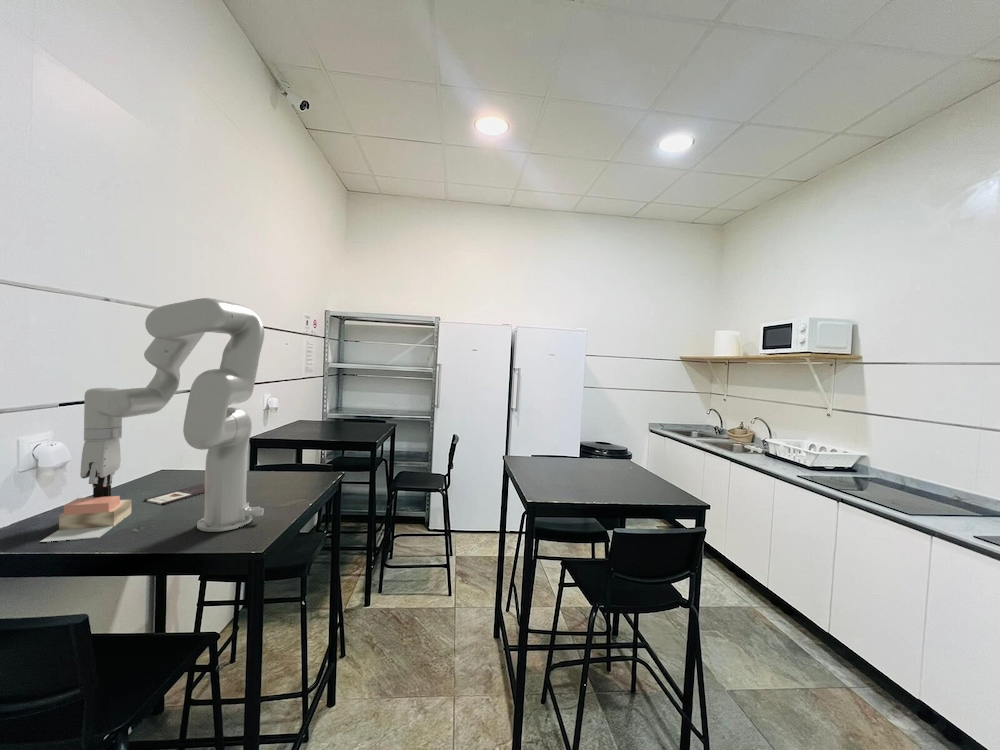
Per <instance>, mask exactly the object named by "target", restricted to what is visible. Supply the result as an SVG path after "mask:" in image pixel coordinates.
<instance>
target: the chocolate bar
mask: <svg viewBox="0 0 1000 750" xmlns="http://www.w3.org/2000/svg"><path fill="white" fill-rule="evenodd" d="M204 493H205V484H198V485H191V486H188V487H185V488H181V489H179V490H174V491H170V492H166V493H163V494H159V495H155V496H151V497H148V498H144V499H143V501H144V502H147V503H152V504H156V503H157V505H161V504H163V506H166V504H167V505H170V503H171V504H174V503H177V502H176V501H178V502H180V500H181V501H184V500H183V499H185V500H187V498H188V499H191V498H194V497H193V496H195V497H197V495H198V496H201V495H200V494H202V495H205V494H204ZM190 497H191V498H190ZM173 502H174V503H173Z"/></svg>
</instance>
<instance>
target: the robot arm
mask: <svg viewBox="0 0 1000 750" xmlns="http://www.w3.org/2000/svg"><path fill="white" fill-rule="evenodd" d="M144 324H145V325H144V326H145V329H146V331H147V333H148V334H149V335H150V336H152V337H153V338H154V339H153V340H152V341H151V342H150V344H149V346H147V348H146V349H145V350H144V352H143V353H144V354H143V356H144V359H145V360H146V362H148V363H149V364H150V365H151V366H153V367H154V368H156V370H155V371H156V372H155V374H154V375H153V377H152V379H151V380H150V382H149V383H148V384H147V385H146V387H136V388H135V387H134V388H125V389H123V388H122V389H119V388H115V387H95V388H88V389H86V391H85V393H84V403H83V404H84V410H83V412H84V413H83V415H84V416H83V441H84V443H83V447H82V452H81V460H80V478H81V479H88V484H89V485H91V486H92V497H109V496H112V484H113V477H114V475H115V473H116V472H117V471H119V469H120V466H121V443H120V439H122V436H123V435H122V434H123V433H122V432H123V431H122V430H123V428H122V427H123V418H131V417H138V416H144V415H145V416H146V415H150V414H155V413H158V412H159V411H161V410H163V408H165V407H166V405H168V403H169V402H170V400H171V399H172V398H173V397H174V395H175V394H176V393H177V391H178V389H179V386H180V380H181V372H180V370H181V366H182V365H183V364H184V362H185V361H186V360H187V359H188V357H189V355H190V354H191V353H192V351H194V348H195V347H196V346H197V345H198V344H199V342H200V341H201V339H202V338H203V336H204V335H205V333H216V334H225V335H226V334H227V335H230V338H229V340H228V342H227V343H226V344H225V347H224V349H223V351H222V357H221V362H220V365H219V368H214V369H208V370H205V371H203V372H201V373H200V374H198V376H196V378H195V379H194V381H193V383H192V384H191V386H190V391H189V395H188V400H187V404H186V405H187V406H186V410H185V415H184V420H183V421H184V422H183V426H182V427H183V431H182V432H183V437H184V439H185V442H186V443H187V444H188V446H190V447H191V448H193V449H196V450H199V451H200V450H201V451H202V450H203V451H204V450H205V451H206V450H207V452H206V456H205V467H204V468H205V470H204V475H205V476H204V485H205V494H204V512H203V513H204V514H203V515H204V516H203V517H202V518H201V519H199V520H198V521H197V522H196V524H197V525H196V529H198V531H201V532H208V533H214V532H215V533H216V532H217V533H218V532H227V531H230V530H237V529H240V528H241V527H245V526H246V524H247V525H248V524H250V523H251V522H252V521H253V516H256V517H257V516H260V517H261V516H264V510H265V508H263V507H261V506H254V507H251V505H250V502H249V501H248V502H247V480H248V479H247V475H248V473H247V472H248V470H247V469H248V452H249V451H248V450H249V443H250V438H251V436H252V435H251V434H252V426H253V425H252V420H251V417H250V416H249V414H248V413H247V412H246V410H243V409H241V408H239V407H232V406H233V405H237V404H241V403H245V402H246V401H248V400H249V399H250V398H251V397H252V394H253V392H254V387H255V383H256V378H257V372H258V367H259V362H260V361H259V360H260V356H261V352H262V347H263V344H264V339H265V328H264V324H263V321H262V319H261V318H260V317H259V316H258V314H257V313H255V312H254V311H253V310H252V309H250V308H248V307H247V306H244V305H241V304H238V303H235V302H230V301H225V300H219V299H216V298H210V297H208V298H207V297H204V298H203V297H202V298H201V297H200V298H194V299H189V300H186V301H180V302H175V303H169V304H166V305H161V306H158V307H156V308H154V309H152V310H151V311H150V312H149V313H148V314H147V316H146V319H145V322H144ZM231 405H232V406H231ZM229 406H230V407H229ZM251 520H252V521H251ZM244 525H245V526H244ZM239 527H240V528H239Z"/></svg>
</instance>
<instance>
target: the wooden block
mask: <svg viewBox="0 0 1000 750" xmlns="http://www.w3.org/2000/svg"><path fill="white" fill-rule="evenodd" d="M132 502H133V501H132V499H129V498H128V499H120V505H118V506H117V507H116V508H114V509H113V510H111V511H110V512H102V513H87V514H72V515H64V512H62V513H61V514H58V515H59V516H58V530H70V529H83V528H96V527H109V526H113V528H114V527H115V526H117V525H118V524H119V523H120V522H122V521H124V518H125V519H126V518H127V517H129V516H130V515H131V514H132Z"/></svg>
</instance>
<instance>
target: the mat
mask: <svg viewBox="0 0 1000 750" xmlns="http://www.w3.org/2000/svg"><path fill="white" fill-rule="evenodd" d="M113 528H114V527H113V526H109V527H96V528H83V529H70V530H59V529H58V530H56V531H55V532H53V533H51V534H50V535H48V536H46V537H45V538H44V539H42V540H40V541H39V542H47V543H54V542H53V541H58V542H67V541H66V540H70V541H80V540H81V539H82V540H92V539H94V540H95V539H100V538H101V537H102V536H103V535H104V534H106V533H107V532H109V531H110V530H111V529H113ZM82 540H81V541H82ZM51 541H52V542H51Z"/></svg>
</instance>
